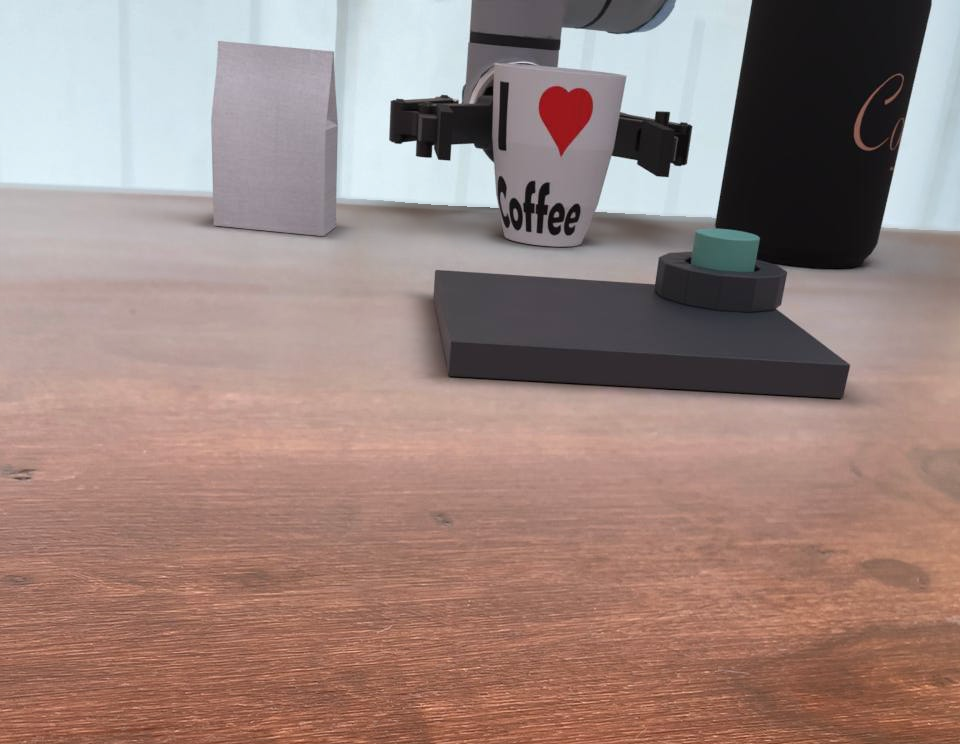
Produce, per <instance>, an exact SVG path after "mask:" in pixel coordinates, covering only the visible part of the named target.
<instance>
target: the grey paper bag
mask: <svg viewBox="0 0 960 744" xmlns="http://www.w3.org/2000/svg"><path fill="white" fill-rule="evenodd" d="M216 57H217V58H216V67H215V79H214V87H213V96H212V97H213V99H212V106H211V107H212V108H211V116H210V117H211V118H210V128H211V129H210V131H211V134H210V135H211V168H212V169H211V171H212V174H211V175H212V207H213V208H212V209H213V210H212V211H213V212H212V213H213V226H216V227H224V228H225V227H226V228H235V229H247V230H257V231H258V230H259V231H267V232H275V233H277V232H278V233H287V234H295V235H296V234H298V235H307V236H316V237H325V236H326V235H327V234H329V233H330V232H331V231H332V230H334V229H335V228H336V227H337V190H338V189H337V188H338V187H337V185H338V184H337V183H338V142H339V141H338V138H339V137H338V136H339V123H338V121H339V120H338V108H337V107H338V106H337V93H336V92H337V91H336V90H337V89H336V72H335V51H333V50H323V49H312V48H301V47H291V46H289V47H288V46H277V45H269V44H259V43H258V44H257V43H245V42H234V41H223V40H218V41H217V56H216Z"/></svg>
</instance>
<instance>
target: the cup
mask: <svg viewBox="0 0 960 744" xmlns="http://www.w3.org/2000/svg"><path fill="white" fill-rule="evenodd" d="M626 83H627V75H626V74H619V73H613V72H605V71H597V70H589V69H578V68H567V67H559V66H558V67H547V66H536V65H522V64H506V63H494V88H493V127H492V140H493V155H494V163H493V169H494V182H495V183H494V184H495V195H496V201H497V205H498V206H497V207H498V211H499V216H500V220H501V226H502V230H503V231H502V232H503V237H504V238H505V239H507V240H510V241H512V242H513V241H514V242H516V243H522V244H527V245H534V246H542V247H557V248H558V247H559V248H561V247H562V248H563V247H565V248H566V247H567V248H568V247H576V246H577V247H578V246H580V245H582V244H583V241H584V238H585V236H586V234H587V231H588V229H589V227H590V225H591V222H592V219H593V217H594V215H595V212H596V210H597V208H598V205H599V203H600V198H601V195H602V192H603V188H604V184H605V180H606V177H607V174H608V170H609V165H610V162H611V159H612V157H613V156H612V152H613V149H614V143H615V138H616V132H617V127H618V121H619V116H620V112H621V109H622V103H623V99H624V92H625V88H626Z"/></svg>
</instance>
